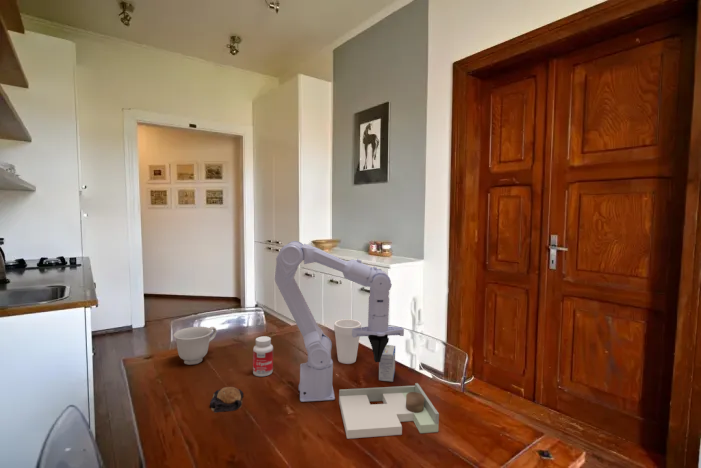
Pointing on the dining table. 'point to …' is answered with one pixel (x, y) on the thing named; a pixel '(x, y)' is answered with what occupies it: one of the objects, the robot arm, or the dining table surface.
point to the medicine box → (387, 364)
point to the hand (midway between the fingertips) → (377, 360)
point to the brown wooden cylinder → (414, 402)
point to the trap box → (383, 411)
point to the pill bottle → (263, 357)
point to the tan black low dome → (226, 399)
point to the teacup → (193, 343)
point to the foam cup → (346, 340)
